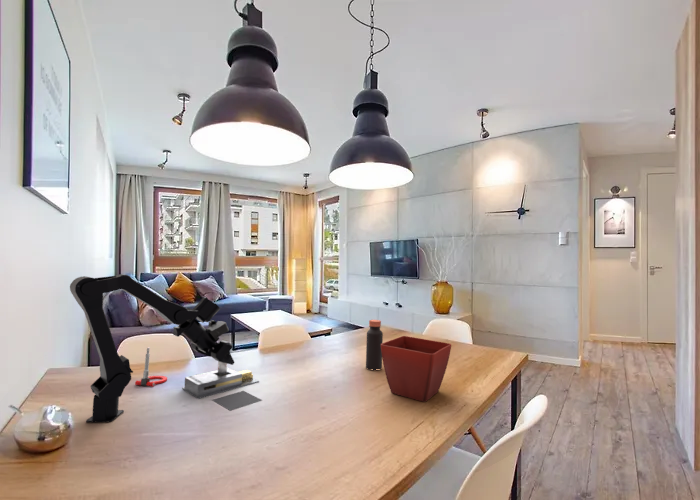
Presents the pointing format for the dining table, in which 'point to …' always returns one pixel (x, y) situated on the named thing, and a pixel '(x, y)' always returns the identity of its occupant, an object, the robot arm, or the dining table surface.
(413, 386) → the plant pot
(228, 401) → the rubber mat
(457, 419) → the dining table surface
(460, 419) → the dining table surface
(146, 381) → the tow hook
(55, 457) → the dining table surface
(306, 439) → the dining table surface
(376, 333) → the bottle
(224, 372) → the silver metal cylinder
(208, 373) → the windowed slide housing
